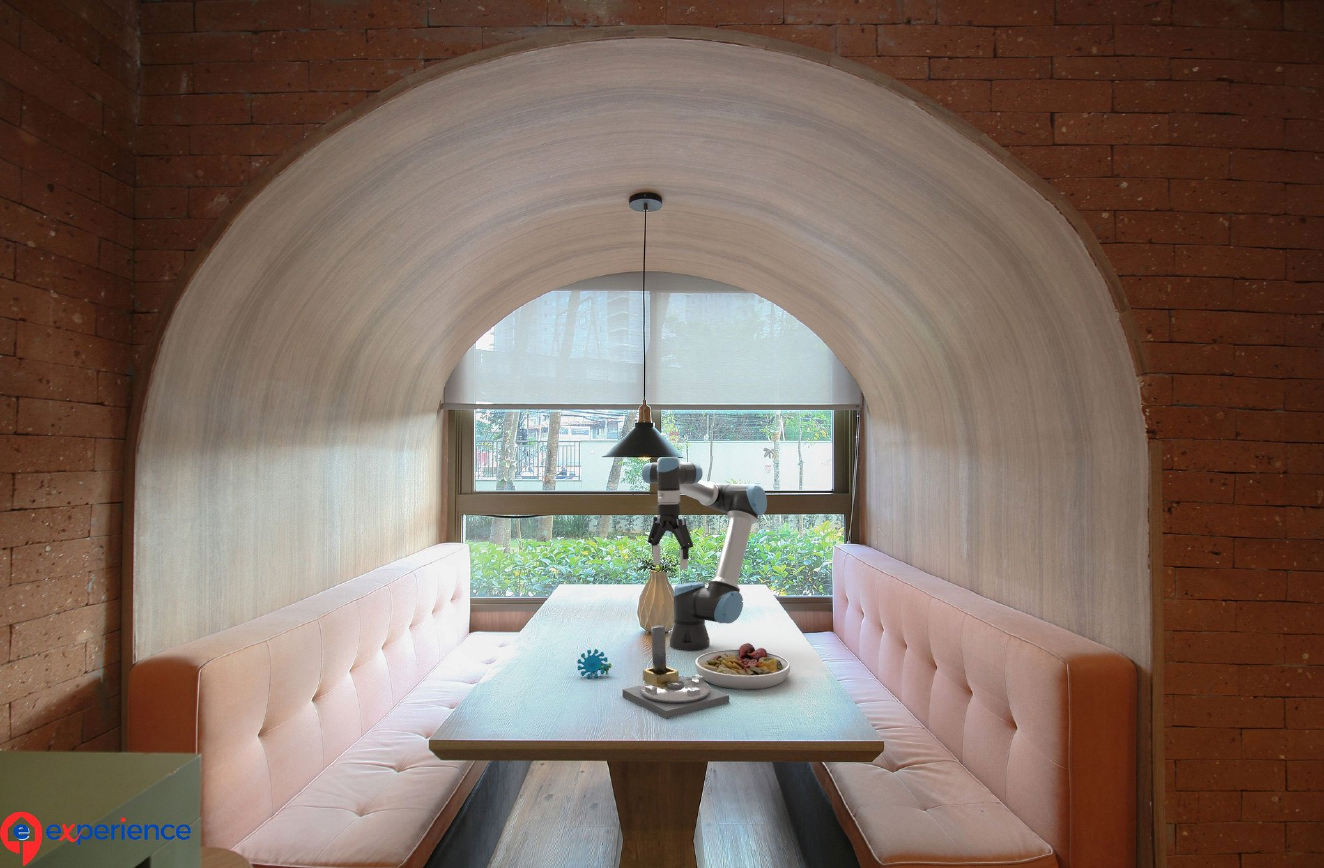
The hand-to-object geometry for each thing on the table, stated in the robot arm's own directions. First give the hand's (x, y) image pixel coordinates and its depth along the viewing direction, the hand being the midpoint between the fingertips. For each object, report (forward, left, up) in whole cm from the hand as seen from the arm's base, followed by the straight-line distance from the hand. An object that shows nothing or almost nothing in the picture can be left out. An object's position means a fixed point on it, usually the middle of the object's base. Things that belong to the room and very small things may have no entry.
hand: (670, 567), depth 227 cm
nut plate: (+16, +25, -34) cm, 45 cm away
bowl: (-14, +20, -34) cm, 42 cm away
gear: (+24, -8, -34) cm, 42 cm away
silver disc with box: (+16, +24, -31) cm, 43 cm away
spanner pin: (+17, +18, -30) cm, 39 cm away
